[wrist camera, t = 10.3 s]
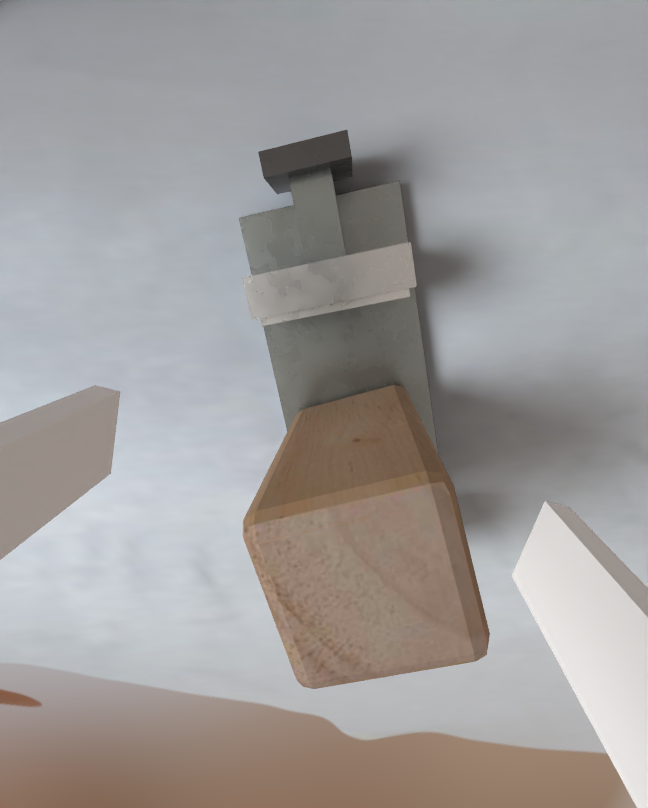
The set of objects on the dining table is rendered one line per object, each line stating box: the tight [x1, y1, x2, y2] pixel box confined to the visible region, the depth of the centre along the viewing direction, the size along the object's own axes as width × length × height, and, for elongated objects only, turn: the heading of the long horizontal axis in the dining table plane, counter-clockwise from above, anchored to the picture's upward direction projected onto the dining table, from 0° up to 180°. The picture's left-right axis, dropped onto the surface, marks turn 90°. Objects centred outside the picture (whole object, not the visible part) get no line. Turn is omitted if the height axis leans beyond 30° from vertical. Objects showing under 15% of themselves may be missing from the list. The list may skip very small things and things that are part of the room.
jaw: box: [243, 130, 417, 326], centre depth 32 cm, size 11×12×5 cm
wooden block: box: [243, 385, 490, 689], centre depth 29 cm, size 10×10×20 cm
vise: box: [239, 181, 438, 453], centre depth 36 cm, size 31×13×6 cm, turn 11°
